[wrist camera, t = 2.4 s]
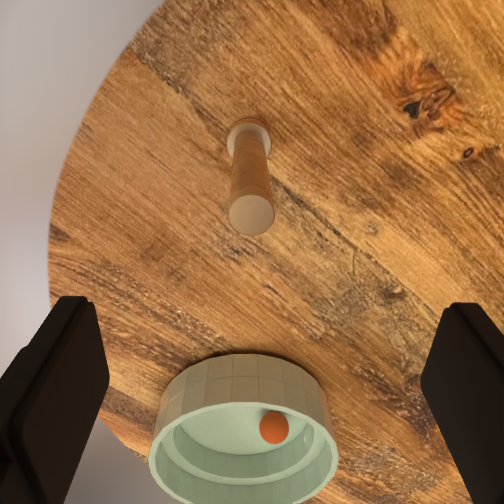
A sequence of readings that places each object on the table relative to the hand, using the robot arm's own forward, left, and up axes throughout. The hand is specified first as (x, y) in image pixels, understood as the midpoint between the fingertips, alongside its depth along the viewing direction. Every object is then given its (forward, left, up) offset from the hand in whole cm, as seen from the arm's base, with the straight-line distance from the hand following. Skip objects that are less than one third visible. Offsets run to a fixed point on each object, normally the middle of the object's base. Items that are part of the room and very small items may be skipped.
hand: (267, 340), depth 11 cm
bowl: (0, -28, -19) cm, 34 cm away
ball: (+3, -28, -17) cm, 33 cm away
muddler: (0, 0, -19) cm, 19 cm away
